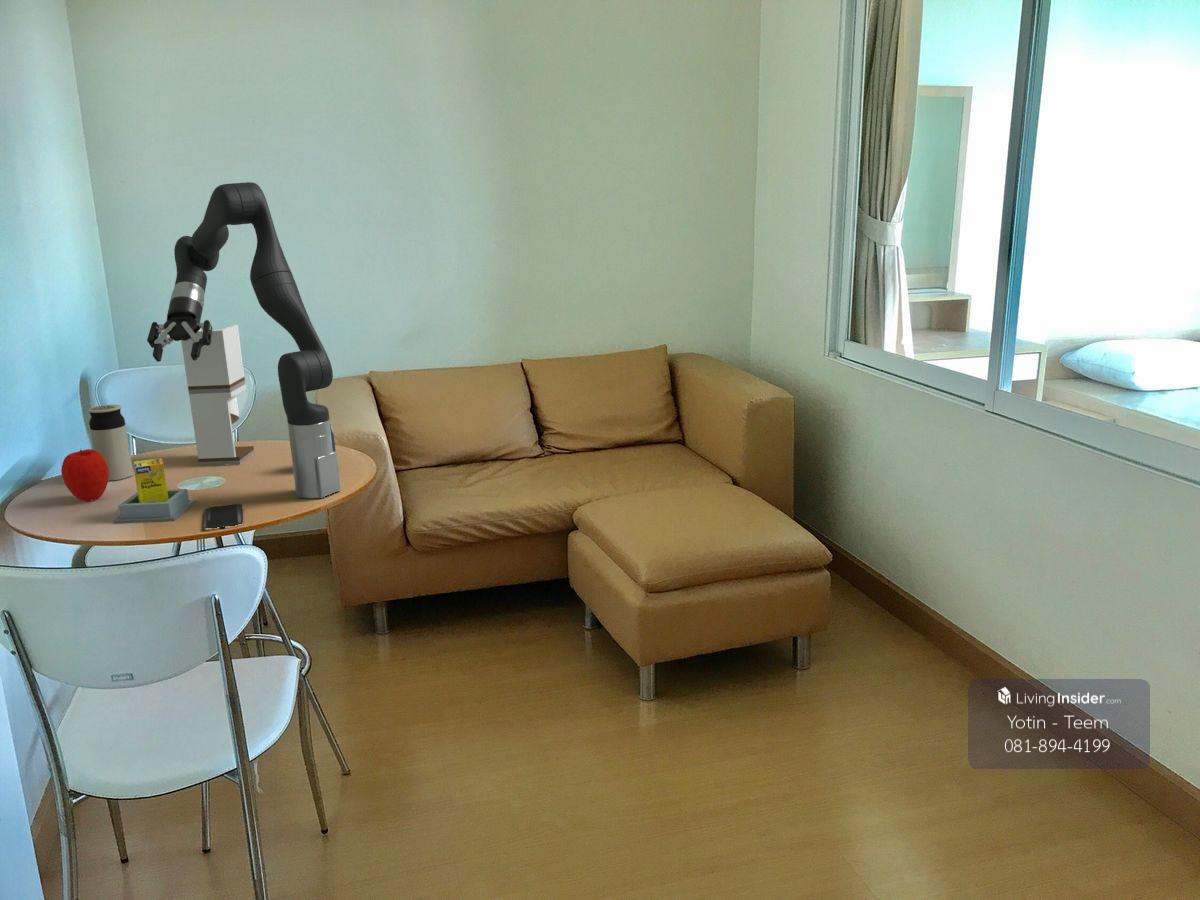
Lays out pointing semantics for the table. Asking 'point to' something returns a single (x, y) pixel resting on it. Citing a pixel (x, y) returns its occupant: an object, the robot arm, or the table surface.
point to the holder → (154, 508)
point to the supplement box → (150, 481)
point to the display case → (216, 396)
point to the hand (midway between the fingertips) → (175, 359)
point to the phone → (223, 516)
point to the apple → (85, 474)
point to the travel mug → (111, 440)
